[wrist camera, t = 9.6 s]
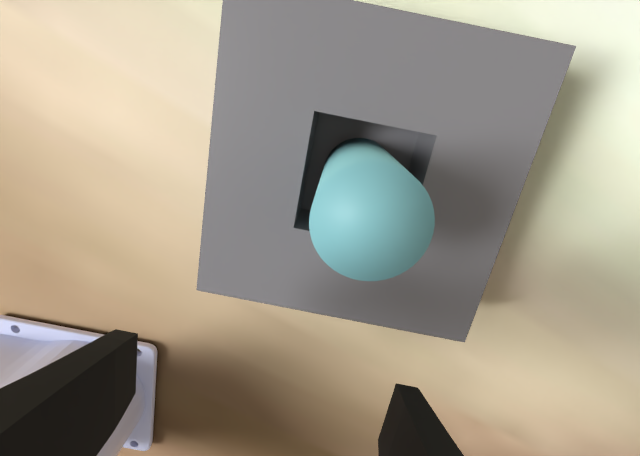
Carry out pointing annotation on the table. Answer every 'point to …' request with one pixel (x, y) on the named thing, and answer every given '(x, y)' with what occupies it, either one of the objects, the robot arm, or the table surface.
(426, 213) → the pin
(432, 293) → the socket block
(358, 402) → the table surface
